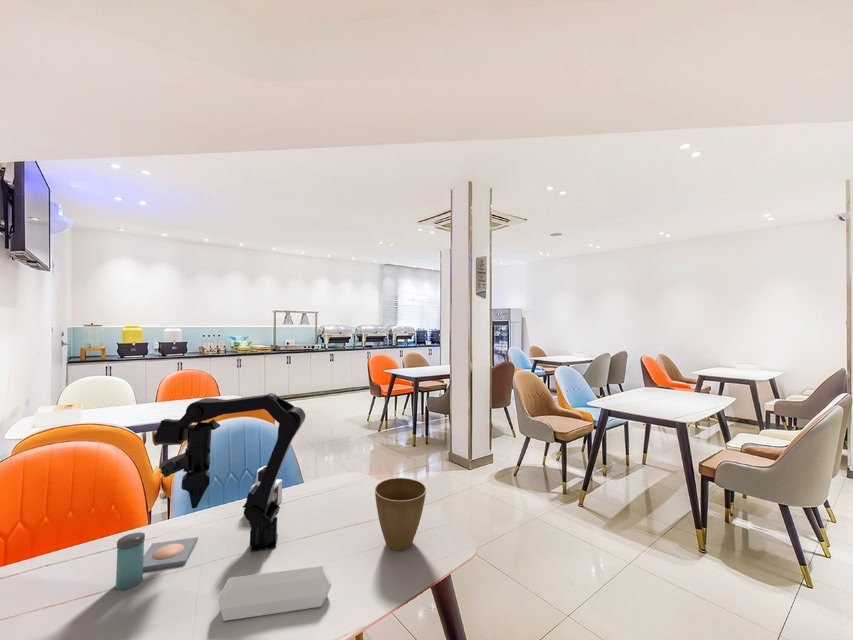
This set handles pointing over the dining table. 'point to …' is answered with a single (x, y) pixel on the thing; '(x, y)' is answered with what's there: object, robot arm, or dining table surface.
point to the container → (277, 487)
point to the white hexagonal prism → (274, 592)
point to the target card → (168, 553)
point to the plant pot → (399, 510)
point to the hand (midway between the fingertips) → (195, 500)
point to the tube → (130, 561)
